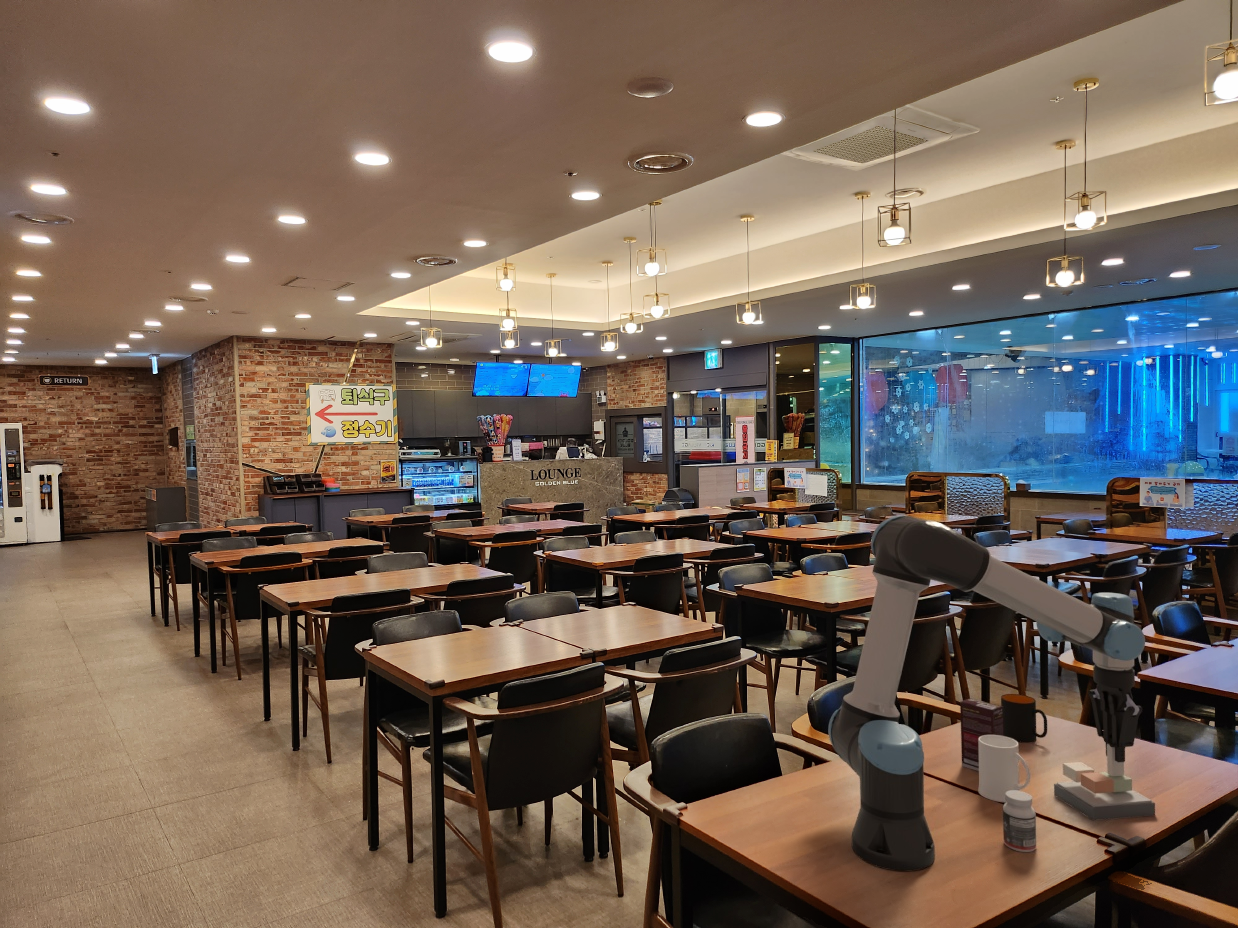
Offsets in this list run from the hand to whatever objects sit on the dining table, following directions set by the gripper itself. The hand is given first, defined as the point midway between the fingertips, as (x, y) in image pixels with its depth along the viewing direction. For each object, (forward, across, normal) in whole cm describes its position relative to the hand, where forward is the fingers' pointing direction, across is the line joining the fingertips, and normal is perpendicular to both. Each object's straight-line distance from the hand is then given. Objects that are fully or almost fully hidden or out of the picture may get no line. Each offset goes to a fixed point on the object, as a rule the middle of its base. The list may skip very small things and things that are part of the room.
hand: (1115, 774), depth 167 cm
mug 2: (+7, +7, +21) cm, 23 cm away
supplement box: (+7, +22, +17) cm, 29 cm away
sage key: (+3, 0, 0) cm, 3 cm away
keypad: (+6, 0, +3) cm, 7 cm away
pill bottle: (+7, -13, +31) cm, 34 cm away
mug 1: (+7, +38, -5) cm, 39 cm away
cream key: (+1, +3, +7) cm, 7 cm away
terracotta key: (+1, -3, +7) cm, 7 cm away
